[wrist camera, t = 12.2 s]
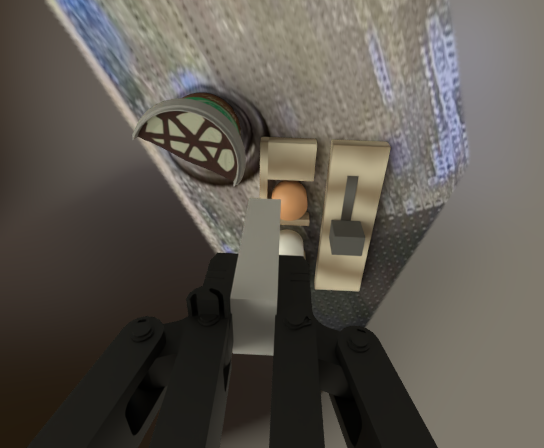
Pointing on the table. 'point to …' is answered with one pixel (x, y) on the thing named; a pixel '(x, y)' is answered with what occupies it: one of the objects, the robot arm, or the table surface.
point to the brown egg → (291, 199)
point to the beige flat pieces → (332, 195)
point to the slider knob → (346, 238)
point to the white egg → (290, 243)
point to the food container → (197, 133)
